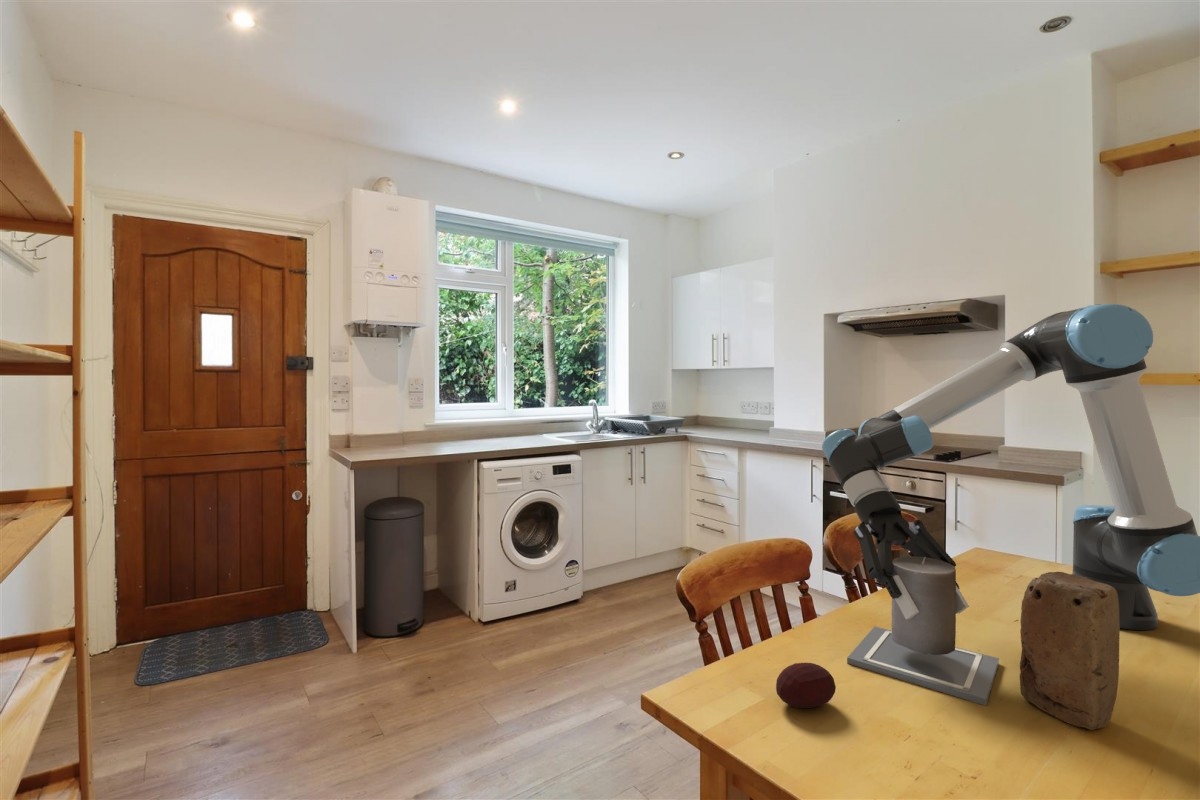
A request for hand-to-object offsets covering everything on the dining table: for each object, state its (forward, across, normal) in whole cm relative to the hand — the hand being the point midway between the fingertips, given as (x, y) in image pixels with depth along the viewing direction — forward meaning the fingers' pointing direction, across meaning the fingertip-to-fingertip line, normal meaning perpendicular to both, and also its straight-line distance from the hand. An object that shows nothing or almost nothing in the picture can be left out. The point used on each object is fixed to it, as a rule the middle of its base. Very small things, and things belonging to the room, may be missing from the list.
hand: (937, 612), depth 96 cm
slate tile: (+5, 0, -9) cm, 10 cm away
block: (+17, -9, +3) cm, 20 cm away
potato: (+9, +27, -5) cm, 29 cm away
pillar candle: (+2, 0, -7) cm, 7 cm away
